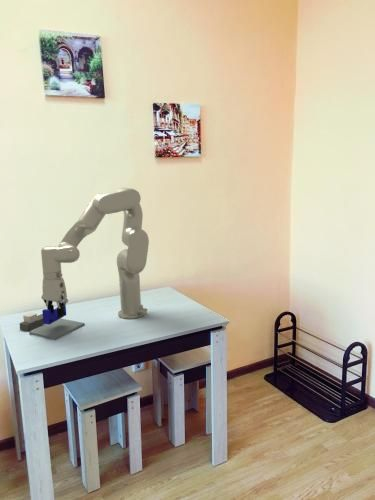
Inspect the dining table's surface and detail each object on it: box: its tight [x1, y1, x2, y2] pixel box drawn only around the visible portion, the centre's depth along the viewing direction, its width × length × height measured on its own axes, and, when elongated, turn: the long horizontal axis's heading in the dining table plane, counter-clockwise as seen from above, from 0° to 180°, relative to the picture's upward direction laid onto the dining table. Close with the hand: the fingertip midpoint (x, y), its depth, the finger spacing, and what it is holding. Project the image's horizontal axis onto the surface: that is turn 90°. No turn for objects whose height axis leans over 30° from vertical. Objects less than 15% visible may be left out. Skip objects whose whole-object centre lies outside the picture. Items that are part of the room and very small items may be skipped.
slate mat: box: [28, 318, 86, 341], centre depth 183 cm, size 15×18×1 cm
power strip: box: [19, 312, 45, 332], centre depth 189 cm, size 5×16×6 cm, turn 152°
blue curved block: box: [42, 302, 67, 325], centre depth 180 cm, size 12×4×6 cm, turn 162°
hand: (55, 314), depth 181 cm, fingers closed on blue curved block, 5 cm apart
